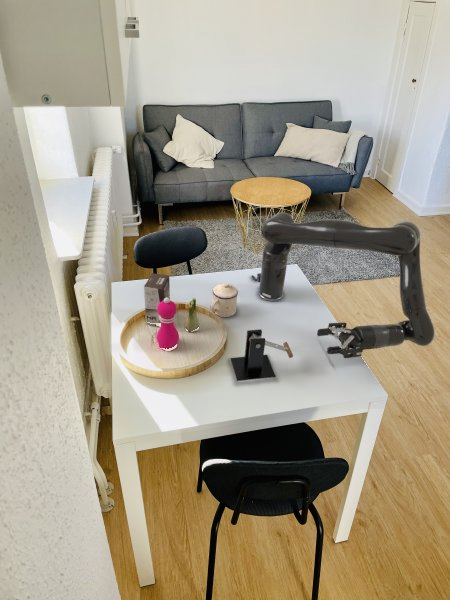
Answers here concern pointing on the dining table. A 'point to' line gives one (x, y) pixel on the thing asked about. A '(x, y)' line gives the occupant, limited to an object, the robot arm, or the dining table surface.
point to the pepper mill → (167, 324)
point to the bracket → (253, 360)
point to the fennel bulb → (192, 317)
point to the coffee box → (155, 296)
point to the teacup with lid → (224, 299)
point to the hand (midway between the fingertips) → (322, 341)
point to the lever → (275, 345)
